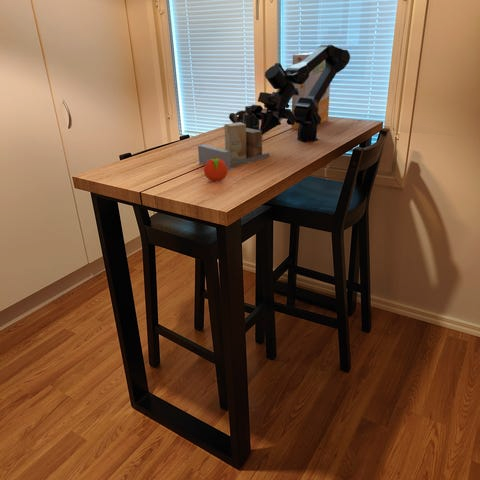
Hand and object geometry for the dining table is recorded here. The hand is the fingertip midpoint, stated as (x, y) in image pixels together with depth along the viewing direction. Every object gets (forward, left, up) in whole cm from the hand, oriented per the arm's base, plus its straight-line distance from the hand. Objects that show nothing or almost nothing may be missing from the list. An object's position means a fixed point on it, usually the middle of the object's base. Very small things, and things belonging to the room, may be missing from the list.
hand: (260, 134), depth 151 cm
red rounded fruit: (+23, +25, -7) cm, 35 cm away
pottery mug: (-7, -47, -7) cm, 48 cm away
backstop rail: (+11, +5, -7) cm, 14 cm away
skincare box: (+11, +5, -7) cm, 14 cm away
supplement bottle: (-5, -27, -7) cm, 28 cm away
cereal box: (-36, -36, -7) cm, 51 cm away
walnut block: (+5, +3, -7) cm, 9 cm away
